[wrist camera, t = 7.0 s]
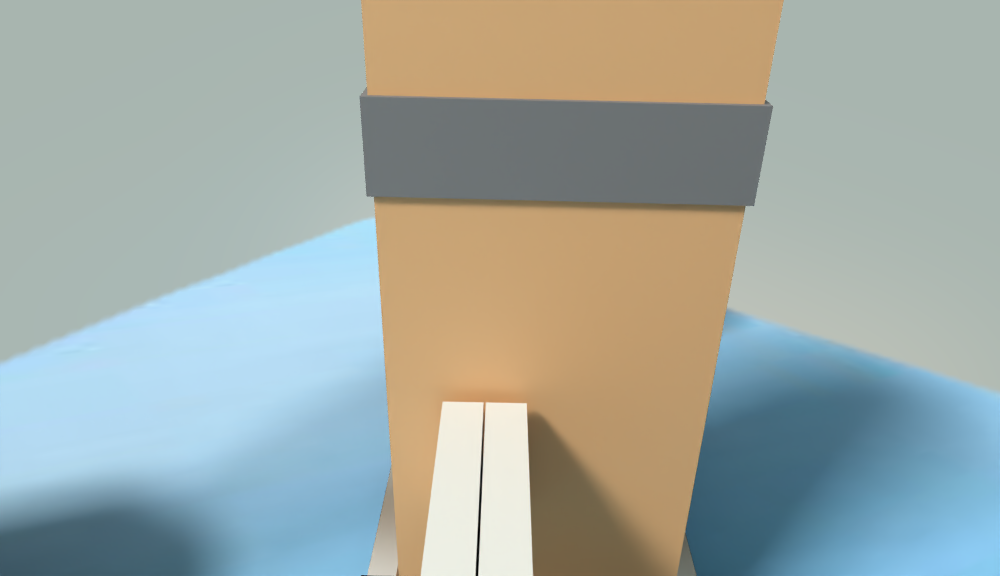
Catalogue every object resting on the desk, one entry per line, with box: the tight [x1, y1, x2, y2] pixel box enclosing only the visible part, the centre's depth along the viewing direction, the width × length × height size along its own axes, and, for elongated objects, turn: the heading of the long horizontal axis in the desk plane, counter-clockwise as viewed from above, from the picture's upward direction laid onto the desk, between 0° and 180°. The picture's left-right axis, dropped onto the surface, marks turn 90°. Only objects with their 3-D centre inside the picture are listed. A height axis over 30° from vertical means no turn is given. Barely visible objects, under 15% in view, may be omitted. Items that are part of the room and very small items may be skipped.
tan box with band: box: [360, 0, 784, 576], centre depth 16 cm, size 5×6×16 cm
